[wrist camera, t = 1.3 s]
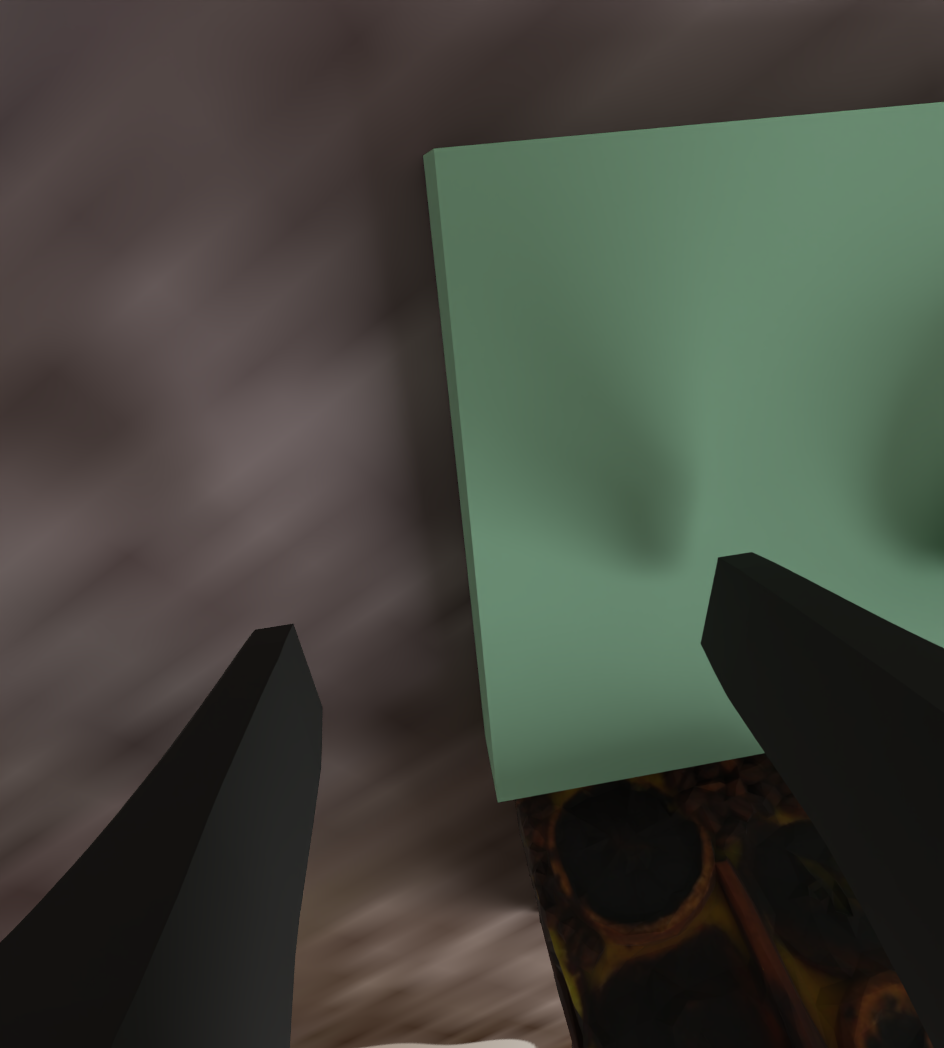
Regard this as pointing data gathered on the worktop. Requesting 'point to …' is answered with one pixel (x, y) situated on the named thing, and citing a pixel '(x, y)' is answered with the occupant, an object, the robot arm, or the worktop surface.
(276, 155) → the worktop surface
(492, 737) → the green mat
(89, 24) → the worktop surface
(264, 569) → the worktop surface
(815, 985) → the yellow cube with hole
